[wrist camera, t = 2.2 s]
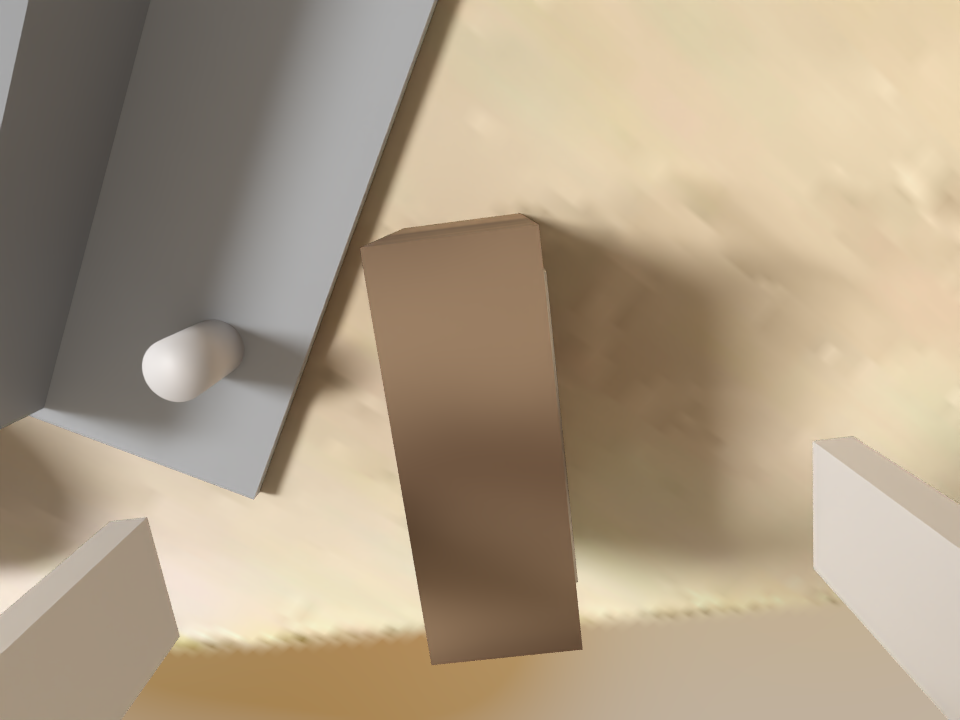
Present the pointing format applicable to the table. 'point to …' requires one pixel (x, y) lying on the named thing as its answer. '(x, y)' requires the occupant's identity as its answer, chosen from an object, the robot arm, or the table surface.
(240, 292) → the ledge
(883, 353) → the table surface
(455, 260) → the picture block
